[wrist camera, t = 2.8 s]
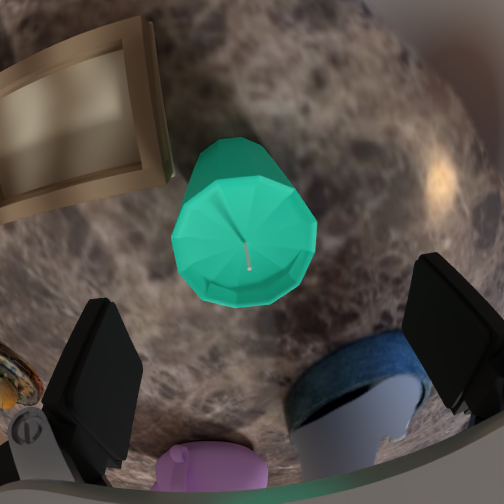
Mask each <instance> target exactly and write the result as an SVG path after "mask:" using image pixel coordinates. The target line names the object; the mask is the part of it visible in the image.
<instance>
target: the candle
mask: <svg viewBox="0 0 504 504" xmlns="http://www.w3.org/2000/svg"><path fill="white" fill-rule="evenodd" d="M316 231H317V221H316V219H315V218H314V216H313V215H312V213H311V212H310V210H309V209H308V207H307V206H306V204H305V203H304V201H303V200H302V198H301V197H300V195H299V194H298V192H297V191H296V189H295V188H294V187H293V185H292V184H291V183H290V181H289V180H288V179H287V177H286V176H285V175H284V173H283V172H282V171H281V169H280V168H279V167H278V166H277V164H276V163H275V162H274V160H273V159H272V158H271V157H270V155H269V154H268V153H267V151H266V150H265V149H264V148H263V146H261V145H259V144H257V143H255V142H252V141H250V140H248V139H245V138H243V137H236V138H227V139H219V140H217V141H216V142H215V143H213V144H212V145H210V146H209V147H208V148H206V149H205V150H204V151H203V152H201V153H200V155H199V157H198V160H197V162H196V165H195V167H194V169H193V172H192V174H191V177H190V180H189V183H188V186H187V189H186V192H185V195H184V198H183V201H182V204H181V207H180V211H179V214H178V217H177V220H176V223H175V226H174V230H173V233H172V236H171V240H172V245H173V250H174V254H175V259H176V264H177V268H178V273H179V274H180V275H181V276H182V277H183V279H184V280H185V281H186V282H187V283H188V284H189V286H190V287H191V288H192V289H193V290H194V291H195V292H196V294H197V295H198V296H199V297H200V298H201V299H202V300H204V301H208V302H212V303H216V304H220V305H225V306H229V307H233V308H240V307H250V306H259V305H268V304H271V303H273V302H274V301H276V300H278V299H279V298H281V297H282V296H284V295H285V294H287V293H288V292H290V291H291V290H293V289H294V288H295V287H297V286H298V285H300V283H301V281H302V278H303V276H304V274H305V272H306V270H307V268H308V266H309V264H310V261H311V259H312V257H313V255H314V253H315V244H316Z"/></svg>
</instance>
